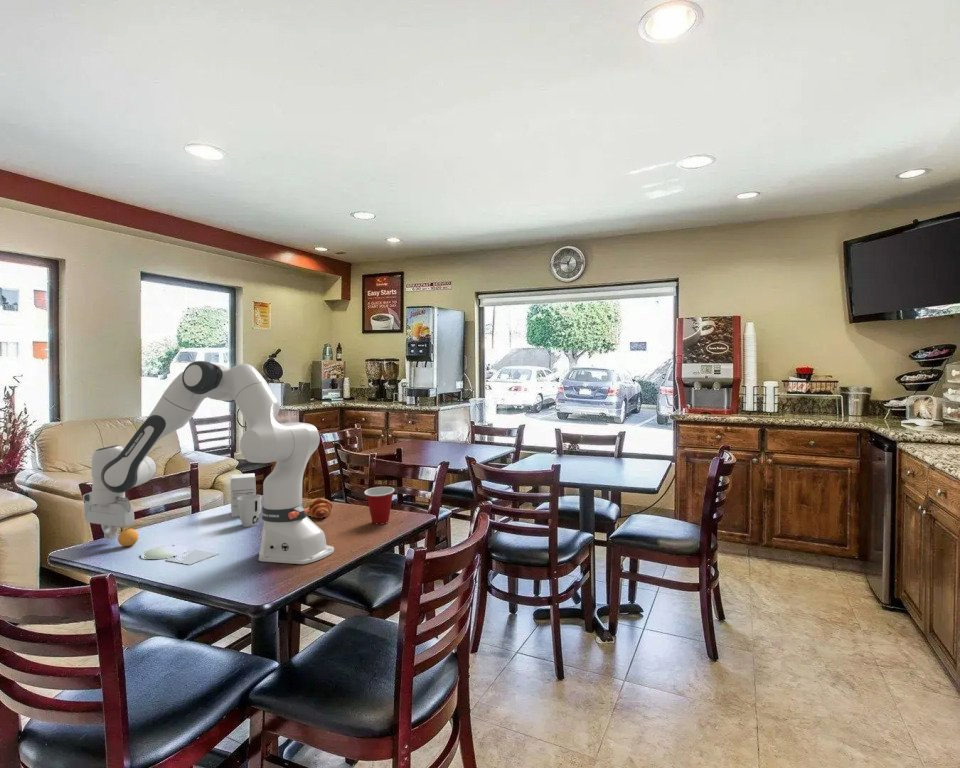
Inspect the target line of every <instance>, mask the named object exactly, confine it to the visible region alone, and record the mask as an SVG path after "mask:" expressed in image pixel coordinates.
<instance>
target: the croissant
mask: <svg viewBox="0 0 960 768" xmlns="http://www.w3.org/2000/svg"><path fill="white" fill-rule="evenodd" d="M304 507H305V509H306V508H309V509H308V510H310V511H308V510H307V511H308V512H306V513H307V517H309V516H311V517H310V518H314V517H315V519H318V518H321V519H324V518H323V517H325V518H327V517H328V516H329V515H330V514H331V511H332V509H333V503H331V501H330V500H328V499H326V498H322V497H317V498H313V499H310V500H309V501H308V502H306V505H305V506H304Z"/></svg>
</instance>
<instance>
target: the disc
mask: <svg viewBox="0 0 960 768" xmlns="http://www.w3.org/2000/svg"><path fill="white" fill-rule="evenodd" d="M162 547H163V546H159V547H155V548H151V549H148V550H146V551H144V553H145V552H146V553H145V554H144V555H145V556H146V557H145V556H144V558H145V559H159V560H165V559H164V558H166V559H168V558H167V557H171V558H173V556H175V555H174V553H175V552H174V553H172V552H173V551H172V552H171V550H170V553H169V552H168V551H169V550H168V551H167V550H165V549H164V550H163V548H162ZM184 550H185V549H184ZM165 551H166V552H165ZM186 551H187V550H186ZM186 551H185V552H186ZM167 552H168V553H167ZM187 552H188V551H187ZM187 552H186V553H187ZM172 554H173V555H172ZM175 554H176V553H175ZM178 555H179V554H178ZM176 556H177V555H176ZM176 556H175V557H176ZM145 559H144V560H145Z"/></svg>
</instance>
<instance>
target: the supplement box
mask: <svg viewBox="0 0 960 768" xmlns="http://www.w3.org/2000/svg"><path fill="white" fill-rule="evenodd" d="M255 475H256V474H255V473H254V472H253V473H241V474H240V473H239V474H238V473H237V474H231V475H230V505H231V506H230V513H231V518H237V517H238V516H239V511H238V501H237V498H238V497H241V496H245V495H257V490H256V487H257V486H256V485H257V484H256V476H255ZM239 517H240V516H239Z"/></svg>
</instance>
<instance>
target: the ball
mask: <svg viewBox="0 0 960 768" xmlns="http://www.w3.org/2000/svg"><path fill="white" fill-rule="evenodd" d="M138 540H139V533H138V532H137V530H135V529H133V528H126V529H123V530H122V531H121V532H120V533H119V534H118V536H117V542H118V543H119V545H121V546H122V547H125V546H129V547H132V546H134V545H135V544H136V543H137V542H138ZM131 545H132V546H131Z"/></svg>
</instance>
